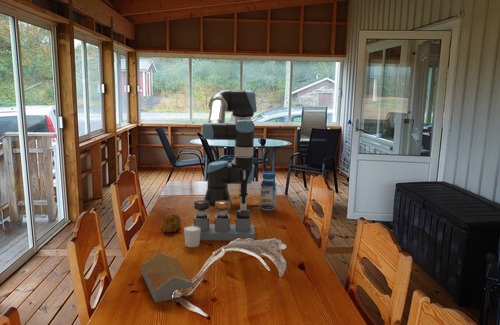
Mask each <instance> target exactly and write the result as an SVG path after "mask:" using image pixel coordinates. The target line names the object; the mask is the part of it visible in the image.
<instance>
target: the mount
mask: <svg viewBox="0 0 500 325" xmlns="http://www.w3.org/2000/svg"><path fill="white" fill-rule="evenodd" d="M251 220H252V218H251V216H250V217H249V218H238V217H236V216H235V223H234V224H233V223H232V224H231V222H230V221H231V215H230V214H227V218H218V213H217V214H215V215H214V223H212V224H211V223H210V214H207V213H206V218H197V213H195V214H194V216H193V223H192V224H190V226H198V227H200V228H201V232H200V241H235V240H234V239H237V238H241V239H246V238H252V239H255V240H256V231H255V227H254V226H255V225H254V224H251V222H252V221H251Z"/></svg>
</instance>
